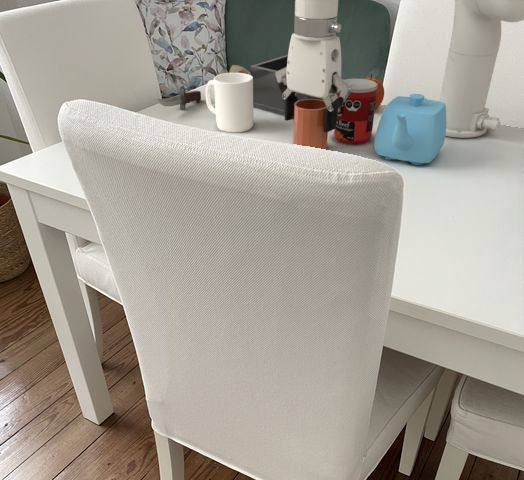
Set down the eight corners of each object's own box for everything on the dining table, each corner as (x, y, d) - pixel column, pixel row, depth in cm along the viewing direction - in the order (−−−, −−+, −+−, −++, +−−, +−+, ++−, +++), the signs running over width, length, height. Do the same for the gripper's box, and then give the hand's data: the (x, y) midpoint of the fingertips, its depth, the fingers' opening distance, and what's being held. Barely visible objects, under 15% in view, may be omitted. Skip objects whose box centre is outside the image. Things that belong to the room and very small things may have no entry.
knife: (161, 122, 130) (159, 99, 126) (156, 121, 130) (154, 98, 127) (201, 101, 141) (200, 79, 138) (197, 100, 142) (195, 78, 138)
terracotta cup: (332, 149, 117) (336, 103, 111) (312, 159, 113) (315, 112, 107) (306, 141, 120) (308, 96, 114) (286, 150, 116) (287, 104, 110)
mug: (271, 98, 143) (253, 64, 135) (237, 116, 146) (218, 83, 138) (268, 82, 147) (250, 48, 140) (235, 99, 150) (216, 67, 143)
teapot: (359, 168, 109) (366, 106, 102) (389, 138, 121) (397, 80, 114) (423, 180, 105) (435, 116, 97) (447, 148, 117) (460, 89, 109)
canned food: (327, 135, 123) (330, 80, 115) (359, 130, 125) (364, 76, 118) (344, 147, 117) (349, 91, 110) (378, 141, 120) (385, 86, 112)
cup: (239, 135, 123) (237, 85, 116) (196, 125, 128) (192, 76, 121) (260, 124, 128) (260, 76, 121) (218, 114, 133) (216, 68, 127)
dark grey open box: (338, 105, 138) (341, 65, 132) (302, 120, 130) (304, 78, 124) (287, 92, 146) (288, 54, 140) (250, 106, 138) (250, 66, 132)
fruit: (353, 104, 138) (356, 69, 133) (382, 105, 138) (386, 70, 132) (352, 113, 133) (355, 77, 128) (382, 115, 132) (386, 78, 127)
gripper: (367, 31, 100) (356, 129, 111) (290, 17, 108) (287, 110, 119) (342, 38, 95) (334, 140, 106) (265, 23, 104) (264, 119, 115)
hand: (309, 124), depth 113 cm, fingers open, 9 cm apart
